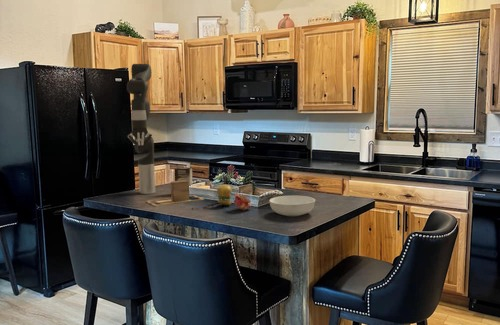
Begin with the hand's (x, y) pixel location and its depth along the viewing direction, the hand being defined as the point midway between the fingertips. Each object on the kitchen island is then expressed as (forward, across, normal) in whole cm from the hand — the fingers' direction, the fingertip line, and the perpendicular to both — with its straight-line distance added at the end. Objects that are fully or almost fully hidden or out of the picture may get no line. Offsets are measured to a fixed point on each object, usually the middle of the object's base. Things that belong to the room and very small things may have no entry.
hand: (140, 152), depth 236 cm
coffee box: (+27, -26, -6) cm, 38 cm away
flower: (+27, -35, +45) cm, 63 cm away
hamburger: (+27, -32, +32) cm, 53 cm away
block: (+25, -16, +12) cm, 33 cm away
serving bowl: (+27, -49, +66) cm, 87 cm away
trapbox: (+27, -14, +12) cm, 32 cm away
